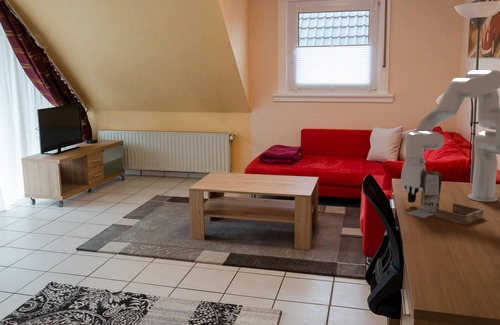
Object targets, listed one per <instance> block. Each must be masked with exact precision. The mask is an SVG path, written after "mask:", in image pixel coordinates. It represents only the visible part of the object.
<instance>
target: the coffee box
mask: <svg viewBox="0 0 500 325" xmlns="http://www.w3.org/2000/svg"><path fill="white" fill-rule="evenodd" d="M442 180H443V175H442V174H441V173H440V172H439V171H433V170H432V171H430V170H429V171H428V170H426V172H424V177H423V189H422V191H420V194H421V195H420V204H419V205H420V206H419V207H420V210H421V211H423V212H429V213H433V214H435V210H436V209H439V207H440V198H441V190H442V182H443V181H442Z"/></svg>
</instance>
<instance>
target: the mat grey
mask: <svg viewBox="0 0 500 325" xmlns="http://www.w3.org/2000/svg"><path fill="white" fill-rule="evenodd" d="M406 215H410V216H413V217H417V218H421V219H426V218H428V217H429V218H430V217H431V216H435V213H434V212H423V211H422V209H414V210H412V211H408V212H406Z"/></svg>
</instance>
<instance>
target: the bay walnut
mask: <svg viewBox="0 0 500 325" xmlns="http://www.w3.org/2000/svg"><path fill="white" fill-rule="evenodd" d="M434 214H435V215H434V218H437V219H441V220H444V221H448V222H452V223H455V224H461V225H463V226H466V225H468V224H471V223H473V222H475V221H478V220H481V219H483V217H484V209H482V208H477V207H472V206H468V205H463V204H459V203H455V202H453V203H452V211H447V210H443V209H436V210H435V213H434Z"/></svg>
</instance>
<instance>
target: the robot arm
mask: <svg viewBox="0 0 500 325" xmlns="http://www.w3.org/2000/svg"><path fill="white" fill-rule="evenodd" d="M499 88H500V71H499V70H496V69H475V70H474V69H473V70H470V71H468V72H467V73H466V75H465V77H456V78H452V80H451V81H450V82H449V84H448V86H447V87H446V90H445V91H444V93H443V95H442V96H441V99H440V100H439V102H438V104H437V105H436V107H435V108H433V109H432V110H430V112H428V114H426V115H425V116H424V117H423V118H422V119H421V120H420V122H419V124H418V126H417V127H416V129H415V131H411V132H408V133H407V135H406V144H405V159H404V162H403V165H402V170H401V174H400V187H401V188H404V189H405V191H406V193H407V202H408V203H415V202H416V198H417V194H418V193H419V192H421V191H422V189H423V177H424V172H426V171H427V170H426V162H427V160H426V159H425V157H424V156H425V150H432V151H433V150H439V149H440V148H442V147H443V146H444V144H445V137H444V135H442V134H441V133H440V132H436V131H433V129H434V128H435V127H436V126H438V125H439V124H440V123H442V122H445V121H447V120H449V119H452V118H454V117H455V116H456V115H457V113H458V111H459V110H460V108H461V106H462V104H463V102H464V101H465V99H476V98H477V103H478V104H477V122H478V126H480V127H481V128H483V129H488V130H483V131H480V132H478V133H477V134H475V136H474V139H473V146H474V147H473V148H474V165H473V166H474V167H473V176H472V185H471V186H472V187H471V193H468V194H467V198H468V199H469V200H473V201H477V202H482V203H483V202H484V203H485V202H487V203H491V202H492V203H494V202H498V199H499V198H498V197H497V196H496V195H495V193H497V192H498V189H497V188H496V181H497V173H498V157H497V155H500V95H499V94H500V93H499V91H498V90H499ZM492 130H495V131H492Z"/></svg>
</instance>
